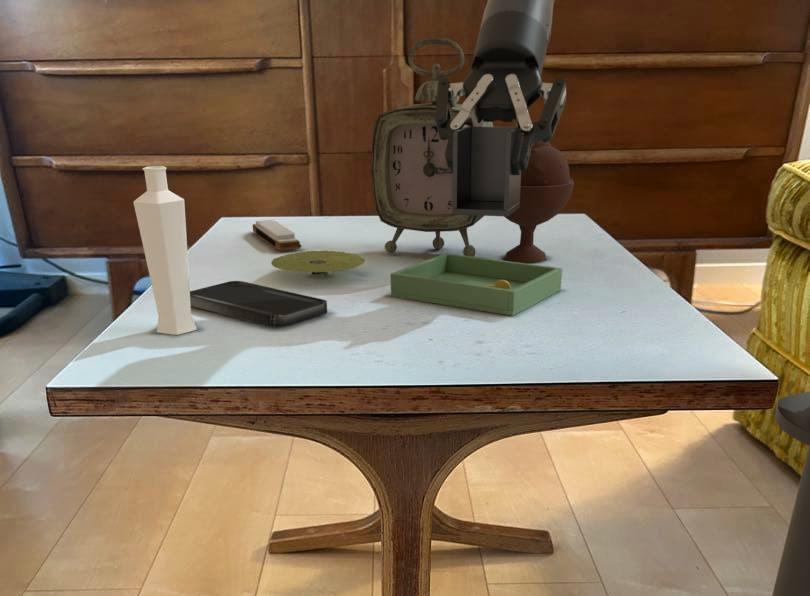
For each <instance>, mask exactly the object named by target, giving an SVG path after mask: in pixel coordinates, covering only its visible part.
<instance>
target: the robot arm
mask: <svg viewBox="0 0 810 596" xmlns="http://www.w3.org/2000/svg"><path fill="white" fill-rule="evenodd" d="M555 1H556V0H488V1H487V3H486V6H485V8H484V12H483V15H482V19H481V24H480V28H479V31H478V37H477V41H476V45H475V49H474V54H473V58H472V62H471V67H470V72H469V73H468V74H467V76H466V77H465V78H464V80H463V81H460V82H452V83H450V80H449V79H448V78H447V77H442V78H440V80H439V81H438V89H437V102H436V114H435V122H436V126H437V130H438V134H439V137H440V139H441V140H446V139H448V143H447V147H446V151H445V158H446V162H447V165H448V168H450V169H451V172H452V173H453V131H456V130H459V129H462V128H465V127H480V126H481V125H482V124H483V123H484V122H492V123H493V122H497V121H499V122H502V123H513V121H514V123H515V127H520V129H521V130H520V132H518V133H517V137H516V142H515V147H514V151H513V156H512V171H513V175H520V173H521V170H525V169H526V168H527V166H528V162H529V157H530V153H531V148H532V145H533V144H534V143H535V142H537V141H540V140H542V141H543V142H551V141H552V139H553V137H554V134H555V132H556V129H557V127H558V124H559V122H560V119H561V116H562V114H563V111H564V108H565V106H566V103H567V85H566V80H565V78H563V77H557V78H555V79H554V81H553V82H545V81H544V82H543V80H542V74H543V69H544V64H545V61H546V60H545V59H546V55H547V50H548V46H549V44H550V41H551V36H552V33H551V32H552V26H553V12H554V6H555ZM462 96H464V97H465V99H464V100H463V103H461V104H462V106H461V111H460V112H459V113H458V115H457V116H456V117H455V118H454V120H453V121H451V118H452V107H456V104H459V103H458V102H459V100H460V98H461V97H462ZM541 97H542V98H543V103H544V107H543V109H542V110H541V111H542V112H541V114H540V117H539V120H538V121H532V119H531V115H530V114H529V110H528V109H530V108H531V107H532V106H533V105H534V104H535V103H536V102H538V100H539V99H540V98H541Z"/></svg>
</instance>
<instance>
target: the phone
mask: <svg viewBox="0 0 810 596" xmlns="http://www.w3.org/2000/svg"><path fill="white" fill-rule="evenodd" d="M190 304H191V307H193V308H198V309H202V310H205V311H208V312H212V313H216V314H220V315H224V316H227V317H232V318H234V319H235V318H236V319H240V320H243V321H246V322H251V323H254V324H259V325H263V326H266V327H270V328H284V327H288V326H291V325H295V324H297V323H301V322H304V321H307V320H310V319H313V318H316V317H320V316H323V315H326V314H327V313H328V301H327V300H326V299H323V298H319V297H315V296H309V295H305V294H300V293H296V292H291V291H287V290H283V289H279V288H274V287H269V286H266V285H261V284H257V283H252V282H247V281H243V280H230V281H226V282H221V283H217V284H213V285H210V286H205V287H202V288H197V289H194V290H190Z"/></svg>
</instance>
